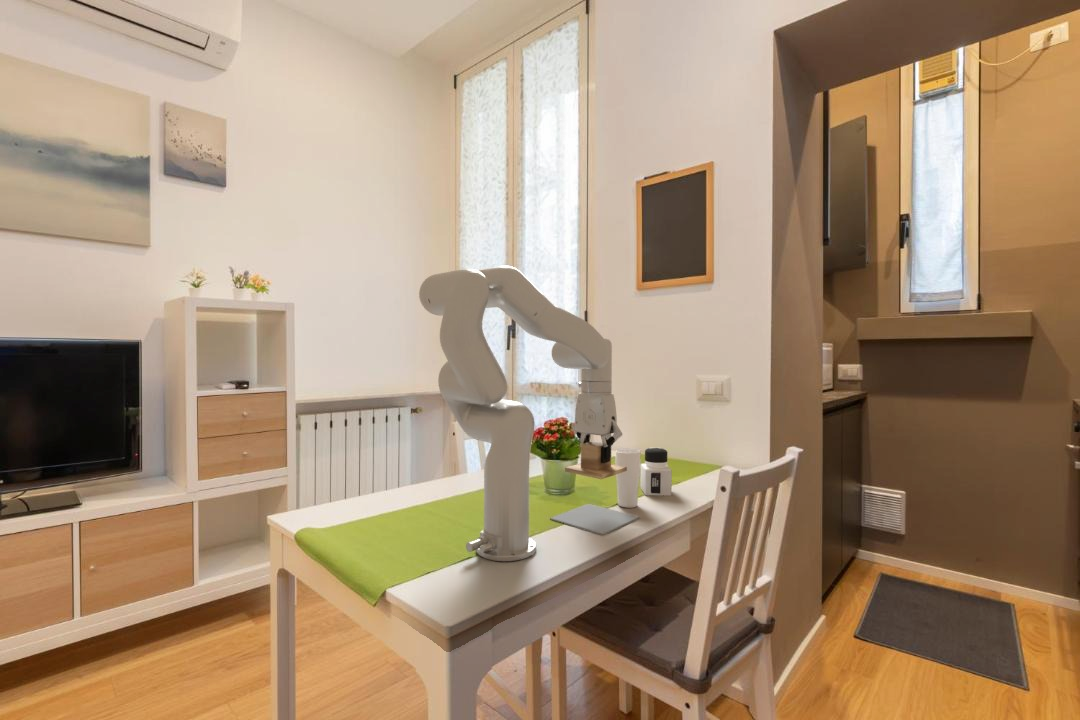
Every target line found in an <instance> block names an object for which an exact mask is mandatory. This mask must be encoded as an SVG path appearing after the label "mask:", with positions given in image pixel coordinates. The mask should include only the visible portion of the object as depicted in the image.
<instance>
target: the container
mask: <svg viewBox="0 0 1080 720" xmlns="http://www.w3.org/2000/svg"><path fill="white" fill-rule="evenodd" d="M672 473H673V471H672V469H671V468H670V467H669V465H668V450H666V449H664V448H662V447H648V448H645V450H644V463H641V468H640V487H639V488H640V489H641V491H642V493H643V494H644V495H645V496H657V497H658V496H663V495H664V497H665V496H667V497H669V496H672V486H673V485H672V484H673V483H672V481H673V480H672V478H673V477H672V476H673V474H672Z"/></svg>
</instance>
